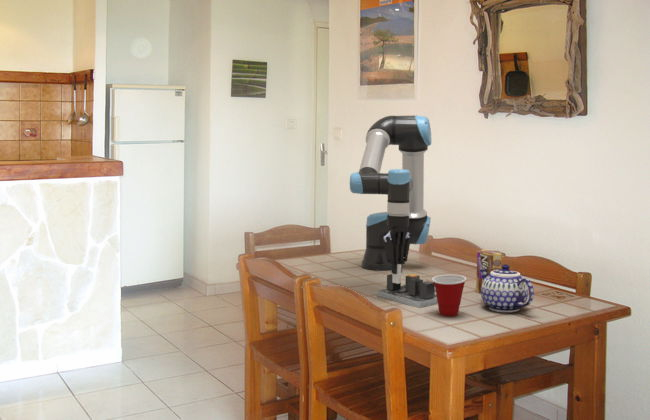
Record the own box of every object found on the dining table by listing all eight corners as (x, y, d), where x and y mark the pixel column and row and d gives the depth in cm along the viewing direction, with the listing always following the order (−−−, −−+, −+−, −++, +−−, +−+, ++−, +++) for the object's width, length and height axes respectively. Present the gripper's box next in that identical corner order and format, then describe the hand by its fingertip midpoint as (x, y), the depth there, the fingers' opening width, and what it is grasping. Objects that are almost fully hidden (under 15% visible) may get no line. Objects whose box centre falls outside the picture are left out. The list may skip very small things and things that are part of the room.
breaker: (413, 288, 248) (413, 273, 247) (419, 289, 246) (419, 275, 245) (405, 289, 245) (405, 275, 245) (411, 291, 243) (411, 276, 242)
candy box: (500, 295, 247) (502, 253, 245) (491, 297, 245) (492, 254, 243) (484, 290, 255) (486, 249, 253) (475, 291, 253) (476, 250, 251)
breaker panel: (415, 288, 258) (416, 269, 257) (458, 298, 243) (459, 278, 242) (377, 296, 245) (377, 276, 244) (419, 307, 230) (420, 286, 229)
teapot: (548, 315, 222) (550, 270, 220) (510, 321, 215) (513, 274, 213) (497, 297, 244) (498, 256, 242) (462, 301, 238) (463, 259, 236)
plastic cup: (423, 312, 224) (424, 275, 223) (450, 308, 229) (451, 272, 228) (445, 320, 215) (446, 282, 213) (472, 316, 220) (473, 279, 219)
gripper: (403, 212, 244) (401, 278, 247) (376, 214, 236) (375, 283, 238) (419, 214, 238) (417, 282, 241) (392, 217, 230) (391, 287, 233)
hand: (396, 282), depth 240 cm, fingers closed
